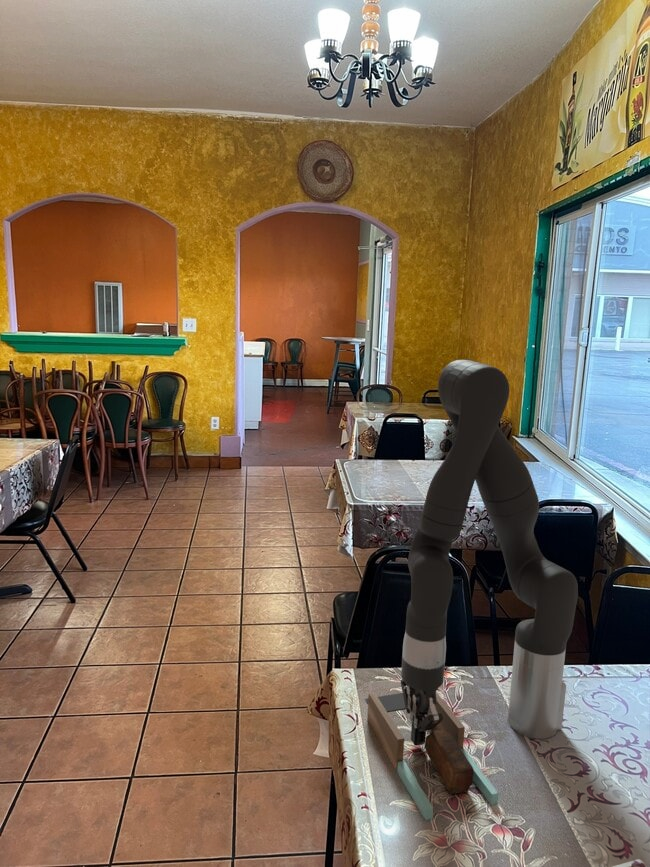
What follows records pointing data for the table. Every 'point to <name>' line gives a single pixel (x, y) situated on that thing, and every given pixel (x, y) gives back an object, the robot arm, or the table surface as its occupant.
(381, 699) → the pad
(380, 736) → the trench
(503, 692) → the table surface
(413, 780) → the bay
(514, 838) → the table surface
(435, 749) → the brick
